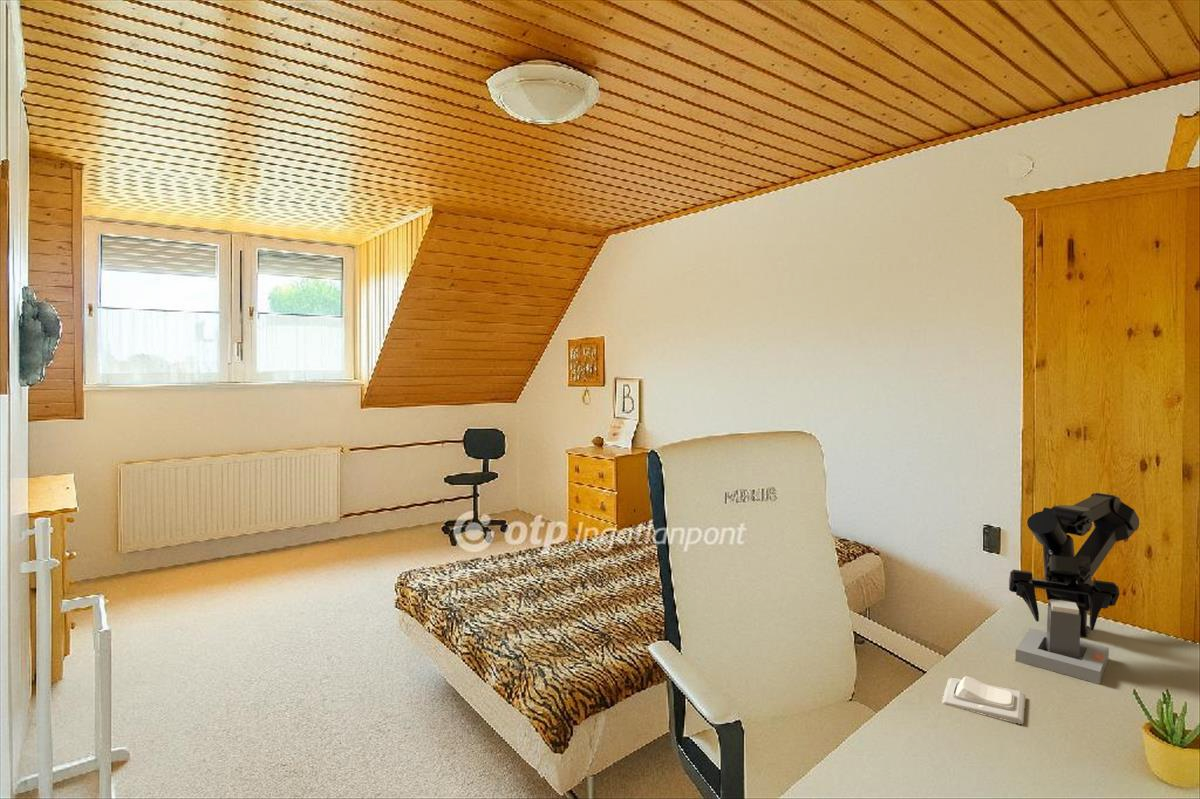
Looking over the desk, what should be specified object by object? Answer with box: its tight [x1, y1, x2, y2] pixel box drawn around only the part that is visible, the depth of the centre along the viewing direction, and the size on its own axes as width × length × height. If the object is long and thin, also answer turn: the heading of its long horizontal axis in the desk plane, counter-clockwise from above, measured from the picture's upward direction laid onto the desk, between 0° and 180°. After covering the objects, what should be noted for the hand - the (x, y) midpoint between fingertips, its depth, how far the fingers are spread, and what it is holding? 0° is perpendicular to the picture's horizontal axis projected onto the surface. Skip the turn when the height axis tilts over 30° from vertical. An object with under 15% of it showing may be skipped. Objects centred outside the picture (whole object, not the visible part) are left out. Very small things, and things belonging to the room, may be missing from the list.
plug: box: [1045, 599, 1081, 660], centre depth 133 cm, size 5×5×12 cm
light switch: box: [941, 675, 1026, 726], centre depth 118 cm, size 11×4×13 cm
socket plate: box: [1014, 627, 1110, 685], centre depth 133 cm, size 14×14×3 cm
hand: (1064, 625), depth 132 cm, fingers open, 9 cm apart
